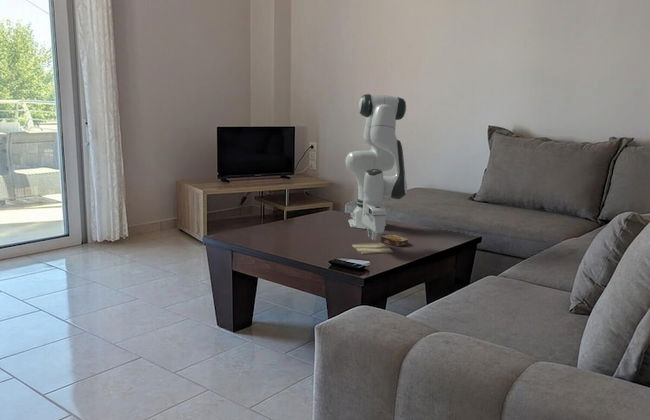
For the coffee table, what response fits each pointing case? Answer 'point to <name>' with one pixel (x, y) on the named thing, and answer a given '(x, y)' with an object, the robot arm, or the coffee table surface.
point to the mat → (372, 248)
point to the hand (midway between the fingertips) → (372, 238)
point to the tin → (394, 239)
